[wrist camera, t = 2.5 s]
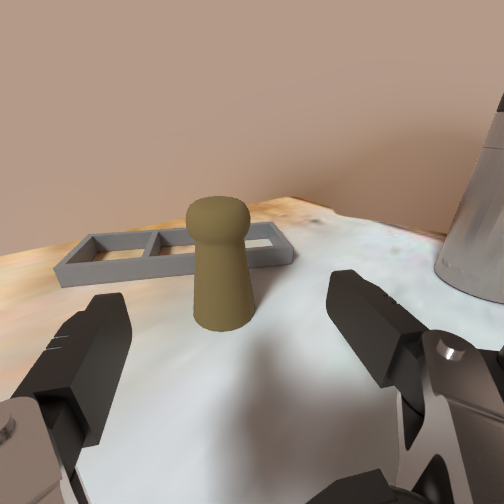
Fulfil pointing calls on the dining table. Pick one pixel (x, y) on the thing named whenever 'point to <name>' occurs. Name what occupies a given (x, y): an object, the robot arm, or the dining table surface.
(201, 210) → the cork
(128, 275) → the frame
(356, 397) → the dining table surface
